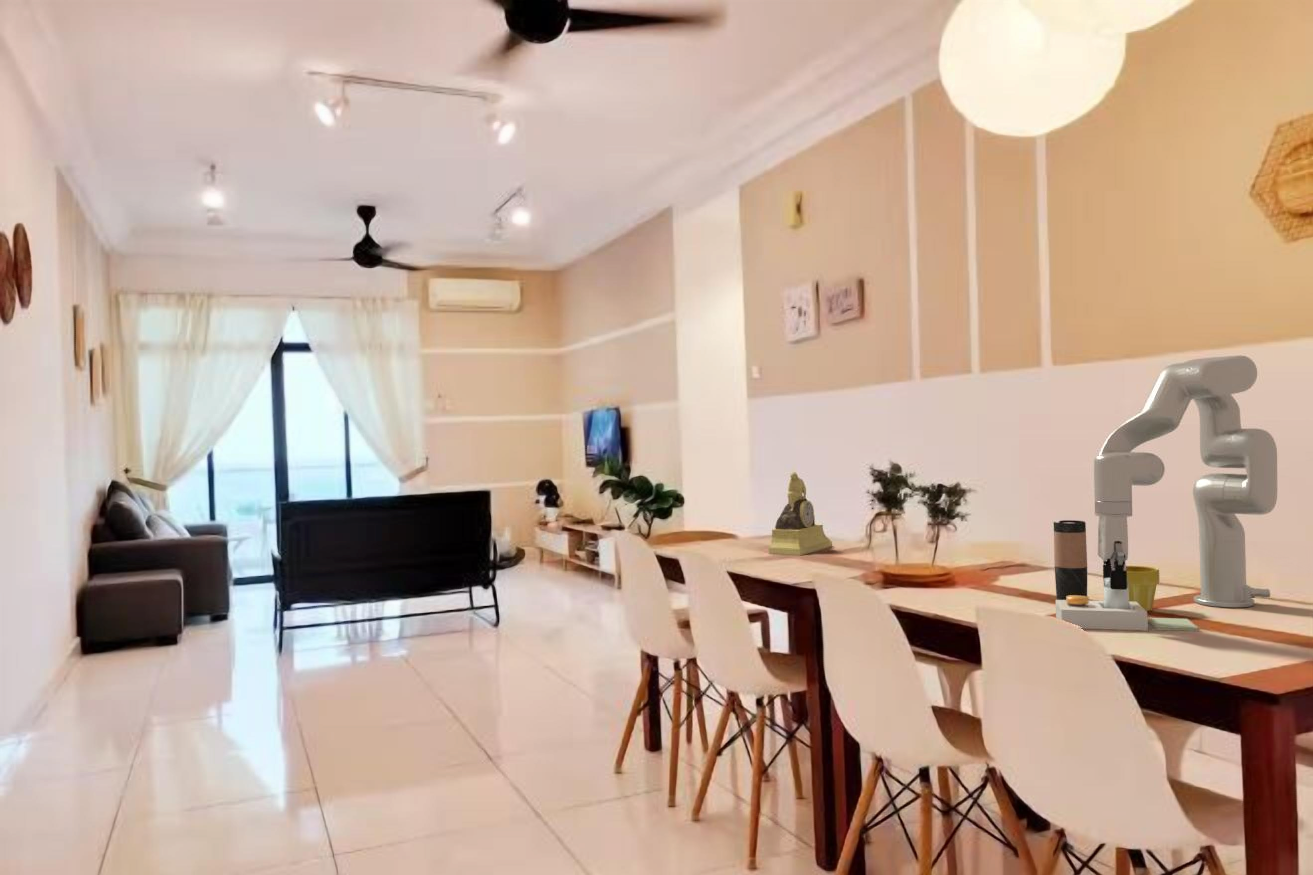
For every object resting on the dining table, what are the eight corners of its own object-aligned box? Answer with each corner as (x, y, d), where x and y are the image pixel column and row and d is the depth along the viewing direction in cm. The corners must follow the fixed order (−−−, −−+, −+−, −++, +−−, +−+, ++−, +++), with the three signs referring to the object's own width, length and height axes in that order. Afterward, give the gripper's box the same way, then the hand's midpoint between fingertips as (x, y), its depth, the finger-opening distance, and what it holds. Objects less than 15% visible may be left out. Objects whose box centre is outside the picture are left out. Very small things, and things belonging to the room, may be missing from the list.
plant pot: (1102, 607, 222) (1101, 567, 222) (1132, 603, 226) (1131, 563, 226) (1139, 614, 213) (1138, 573, 213) (1170, 610, 217) (1169, 569, 217)
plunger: (1087, 613, 208) (1087, 595, 208) (1090, 617, 204) (1089, 599, 204) (1065, 613, 209) (1065, 594, 209) (1068, 617, 205) (1067, 598, 205)
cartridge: (1127, 621, 206) (1126, 577, 206) (1131, 626, 201) (1130, 581, 201) (1103, 621, 207) (1101, 577, 207) (1106, 625, 203) (1105, 580, 202)
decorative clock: (800, 555, 332) (797, 473, 331) (768, 554, 339) (766, 473, 339) (832, 546, 355) (829, 469, 355) (802, 545, 362) (799, 469, 362)
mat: (1187, 621, 204) (1187, 618, 204) (1198, 630, 195) (1198, 628, 195) (1147, 620, 207) (1147, 617, 207) (1157, 629, 197) (1156, 626, 197)
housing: (1136, 619, 208) (1136, 601, 208) (1147, 630, 197) (1147, 611, 197) (1056, 616, 214) (1055, 599, 214) (1061, 627, 202) (1061, 609, 202)
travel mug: (1091, 602, 229) (1089, 523, 229) (1059, 602, 230) (1056, 523, 230) (1084, 597, 236) (1081, 519, 236) (1052, 597, 238) (1050, 520, 238)
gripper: (1089, 506, 213) (1090, 579, 213) (1100, 512, 197) (1102, 591, 197) (1124, 506, 211) (1126, 580, 211) (1139, 512, 195) (1141, 592, 195)
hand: (1114, 585), depth 204 cm, fingers open, 9 cm apart
